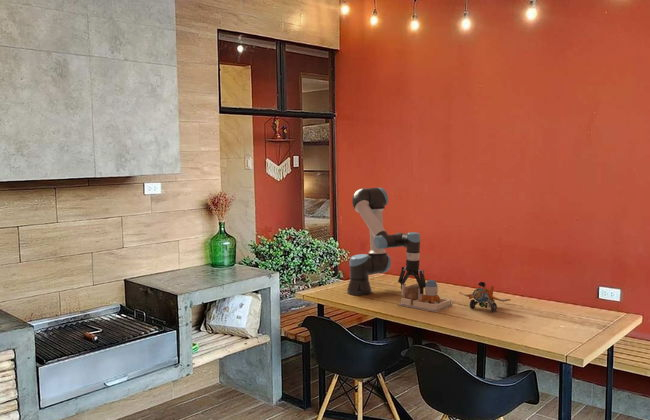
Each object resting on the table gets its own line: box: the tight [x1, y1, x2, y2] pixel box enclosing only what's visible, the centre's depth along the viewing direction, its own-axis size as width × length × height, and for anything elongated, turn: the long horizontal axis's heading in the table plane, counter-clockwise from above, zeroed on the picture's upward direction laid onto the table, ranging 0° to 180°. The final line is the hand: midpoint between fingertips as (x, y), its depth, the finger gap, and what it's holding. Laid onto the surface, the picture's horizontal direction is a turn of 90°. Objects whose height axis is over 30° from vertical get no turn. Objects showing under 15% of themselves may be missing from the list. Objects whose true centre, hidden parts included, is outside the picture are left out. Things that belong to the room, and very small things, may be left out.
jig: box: [398, 293, 453, 313], centre depth 330 cm, size 24×18×4 cm
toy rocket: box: [422, 279, 441, 304], centre depth 326 cm, size 10×11×15 cm
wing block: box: [403, 283, 425, 304], centre depth 335 cm, size 5×12×9 cm, turn 137°
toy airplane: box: [458, 281, 512, 313], centre depth 318 cm, size 29×23×15 cm
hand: (411, 297), depth 336 cm, fingers open, 11 cm apart
